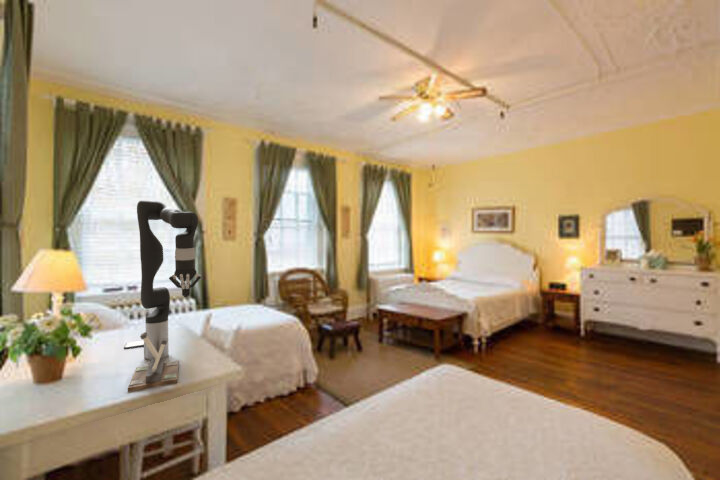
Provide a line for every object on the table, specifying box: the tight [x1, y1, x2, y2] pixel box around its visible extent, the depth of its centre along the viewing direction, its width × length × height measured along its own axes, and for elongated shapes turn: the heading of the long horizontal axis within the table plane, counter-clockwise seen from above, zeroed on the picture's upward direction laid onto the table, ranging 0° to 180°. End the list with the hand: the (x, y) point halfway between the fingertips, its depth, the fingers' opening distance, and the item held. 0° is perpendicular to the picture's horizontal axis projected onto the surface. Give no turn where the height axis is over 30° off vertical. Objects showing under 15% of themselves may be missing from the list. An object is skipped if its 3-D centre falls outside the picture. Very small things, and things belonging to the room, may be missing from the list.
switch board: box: [127, 357, 180, 393], centre depth 132 cm, size 16×21×4 cm
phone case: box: [123, 339, 144, 350], centre depth 171 cm, size 9×2×16 cm
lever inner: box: [139, 331, 158, 360], centre depth 137 cm, size 2×4×13 cm, turn 27°
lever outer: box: [151, 337, 169, 373], centre depth 126 cm, size 2×4×13 cm, turn 28°
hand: (186, 296), depth 140 cm, fingers closed
